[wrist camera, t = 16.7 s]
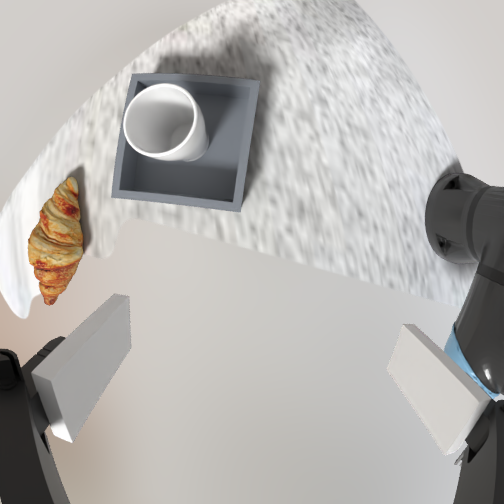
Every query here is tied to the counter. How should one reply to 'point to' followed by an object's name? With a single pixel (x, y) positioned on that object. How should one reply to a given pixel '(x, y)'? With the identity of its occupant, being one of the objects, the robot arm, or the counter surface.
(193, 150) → the white plastic tumbler
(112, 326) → the robot arm
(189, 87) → the bin
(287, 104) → the counter surface
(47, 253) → the croissant
